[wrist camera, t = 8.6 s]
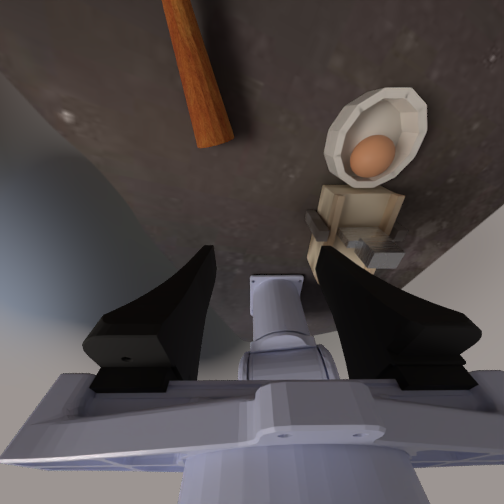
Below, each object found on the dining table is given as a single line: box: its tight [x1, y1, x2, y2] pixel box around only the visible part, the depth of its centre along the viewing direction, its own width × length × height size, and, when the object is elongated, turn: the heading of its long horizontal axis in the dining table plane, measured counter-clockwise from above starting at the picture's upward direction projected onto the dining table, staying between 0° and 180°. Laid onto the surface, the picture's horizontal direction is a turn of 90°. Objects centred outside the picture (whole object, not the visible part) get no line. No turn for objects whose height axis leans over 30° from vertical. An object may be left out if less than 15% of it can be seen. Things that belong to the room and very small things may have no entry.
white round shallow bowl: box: [324, 88, 427, 188], centre depth 16 cm, size 7×7×2 cm
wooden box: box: [305, 185, 409, 284], centre depth 21 cm, size 10×9×5 cm
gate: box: [336, 227, 405, 268], centre depth 17 cm, size 2×4×5 cm, turn 90°
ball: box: [350, 135, 395, 178], centre depth 16 cm, size 3×3×3 cm
